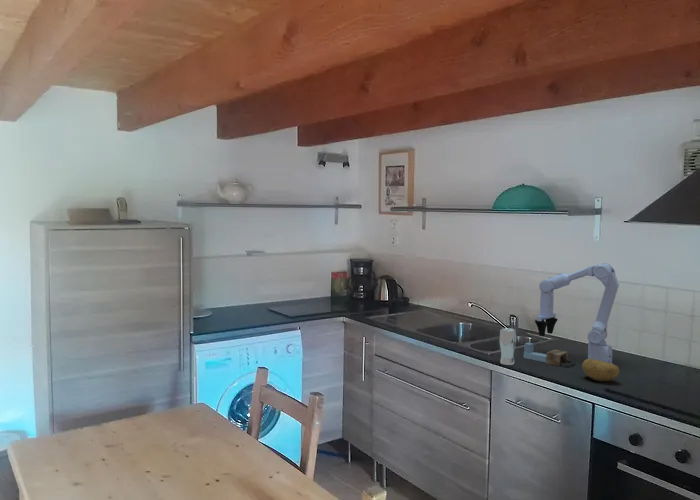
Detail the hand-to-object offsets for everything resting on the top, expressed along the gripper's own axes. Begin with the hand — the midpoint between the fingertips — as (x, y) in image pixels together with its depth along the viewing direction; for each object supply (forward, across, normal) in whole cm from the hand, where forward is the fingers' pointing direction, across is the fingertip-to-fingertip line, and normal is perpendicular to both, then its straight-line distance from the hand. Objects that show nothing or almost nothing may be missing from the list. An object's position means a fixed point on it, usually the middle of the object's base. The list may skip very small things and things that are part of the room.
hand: (545, 334), depth 267 cm
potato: (+10, +21, +34) cm, 41 cm away
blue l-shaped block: (+10, +9, +1) cm, 13 cm away
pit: (+10, +9, +15) cm, 20 cm away
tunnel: (+10, +9, +10) cm, 17 cm away
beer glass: (+10, +25, -5) cm, 27 cm away
